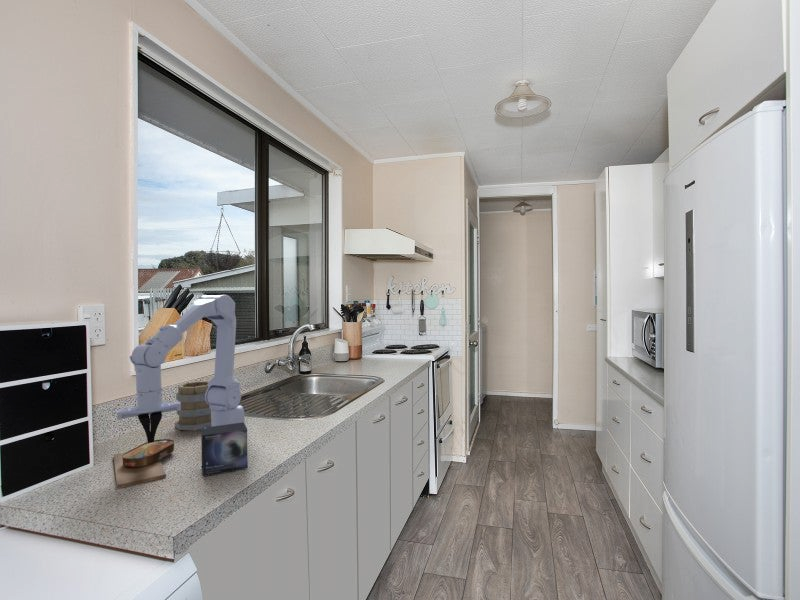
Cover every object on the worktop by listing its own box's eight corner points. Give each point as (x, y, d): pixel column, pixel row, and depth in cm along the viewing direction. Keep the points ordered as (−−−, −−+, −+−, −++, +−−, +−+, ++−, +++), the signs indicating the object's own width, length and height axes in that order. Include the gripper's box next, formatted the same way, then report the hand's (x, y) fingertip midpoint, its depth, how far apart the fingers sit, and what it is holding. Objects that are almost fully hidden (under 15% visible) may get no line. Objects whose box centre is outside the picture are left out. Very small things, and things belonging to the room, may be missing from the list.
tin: (145, 458, 111) (113, 455, 112) (144, 471, 111) (113, 468, 112) (180, 439, 126) (153, 436, 127) (180, 450, 126) (152, 447, 127)
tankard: (182, 433, 143) (181, 386, 142) (171, 425, 152) (170, 381, 152) (243, 420, 156) (242, 377, 156) (230, 413, 165) (229, 373, 165)
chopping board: (155, 449, 128) (154, 446, 128) (165, 477, 108) (165, 474, 108) (113, 457, 122) (113, 454, 122) (117, 488, 103) (117, 484, 103)
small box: (203, 477, 108) (201, 434, 108) (201, 468, 114) (200, 427, 113) (248, 469, 113) (247, 427, 112) (244, 460, 118) (243, 421, 118)
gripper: (177, 383, 124) (178, 432, 124) (115, 391, 116) (117, 443, 116) (181, 388, 118) (183, 439, 119) (116, 396, 110) (118, 451, 110)
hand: (150, 441), depth 117 cm, fingers closed
